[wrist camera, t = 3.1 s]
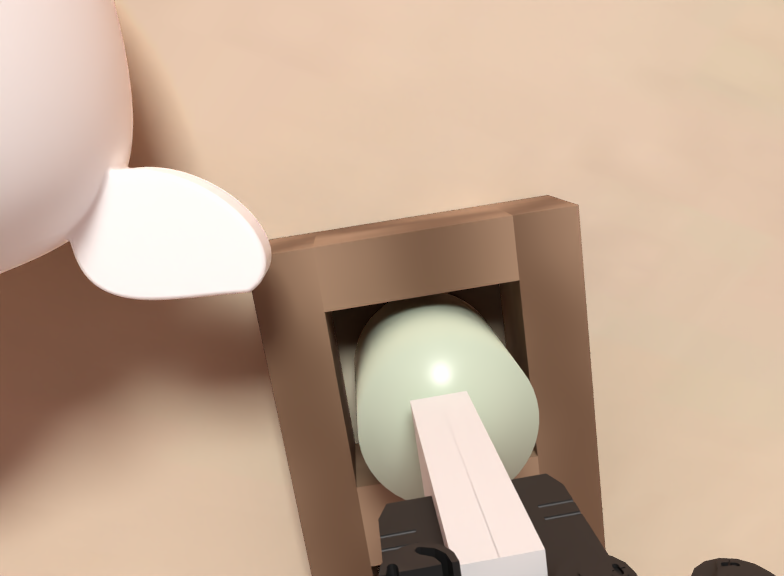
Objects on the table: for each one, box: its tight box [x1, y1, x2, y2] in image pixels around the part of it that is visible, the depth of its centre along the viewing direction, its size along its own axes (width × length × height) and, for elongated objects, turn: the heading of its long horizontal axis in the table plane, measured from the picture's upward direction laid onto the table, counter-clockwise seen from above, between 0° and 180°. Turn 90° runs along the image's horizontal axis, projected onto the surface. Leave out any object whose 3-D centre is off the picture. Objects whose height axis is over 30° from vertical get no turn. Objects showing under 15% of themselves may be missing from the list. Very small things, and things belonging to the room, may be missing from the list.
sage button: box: [355, 293, 539, 500], centre depth 20 cm, size 5×5×5 cm
